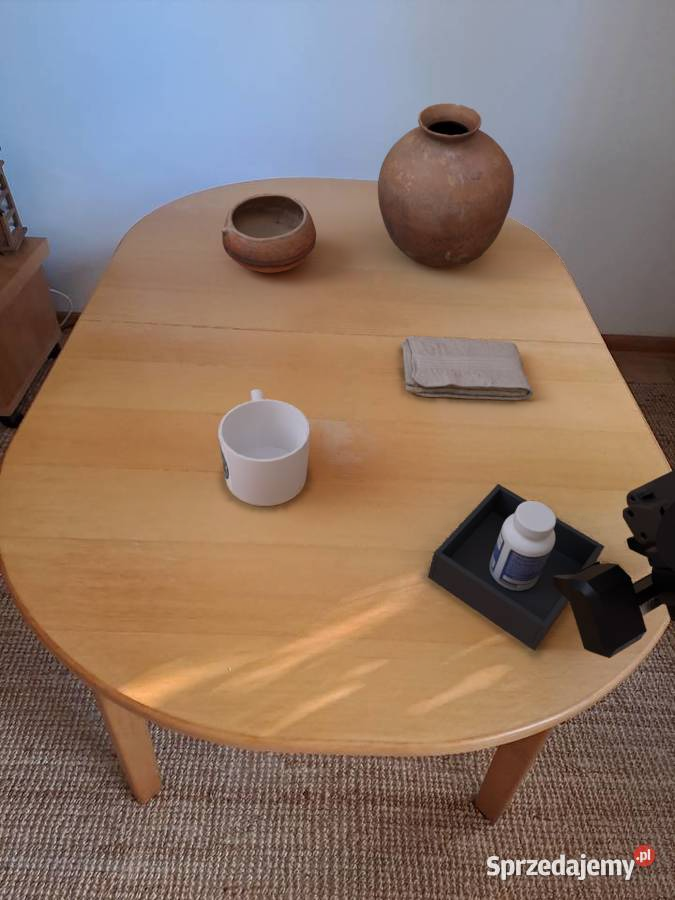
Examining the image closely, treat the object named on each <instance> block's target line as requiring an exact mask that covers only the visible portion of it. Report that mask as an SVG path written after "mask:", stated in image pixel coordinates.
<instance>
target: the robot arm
mask: <svg viewBox="0 0 675 900" xmlns="http://www.w3.org/2000/svg"><path fill="white" fill-rule="evenodd" d="M625 500H626V505H627V507H625V508H623V509H622V518H623V520H624V522H625V524H626V526H627V527H628V529H629V531H630V533H631V534H632V536H629V537H627V538H626V545H627V548H628V549H629V550H630V551H633V553H636V554H638V555H640V556H643V557H646V559H647V562H648V565H649V567H651V572H650V573H649V574H647V575H645V576H643V577H641V578H639V579H638V580H635V581H634V582H633V579H632V577H631V575H630V574H629V573H627V571H626V570H625V569H624V568H623V567H621V566H620V564H618V563H612V562H604V563H601V562H600V560H597V561H596V562H595V563H593V564H592V565H590V566H588V567H586V568H584V569H582V570H580V571H578V572H577V573H575V575H556V576H554V577H553V580H554V583H555V586H556V588H557V589H558V590H559V591H560V592H561V593H562V594H563V595H564V597H565V598H566V599H567V600H568V601H569V604H570V607H571V611H572V614H573V618H574V620H575V624H576V627H577V630H578V634H579V637H580V640H581V644H582V647H583V650H585V651H587V652H589V653H591V654H594V655H598V656H601V657H604V658H607V659H611V658H612V657H615V656H616V655H617V654H619V653H620V652H622V651H624V650H625V649H627V648H629V647H631V646H632V645H634V644H636V643H637V642H638V641H640V640H641V639H642V638H643V637H644V635H645V634H646V633H647V632H648V630H647V627H646V623H645V620H644V617H643V616H646V615H647V614H649V613H650V612H652V611H654V610H655V609H657V608H659V607H661V606H663V605H665V607H666V611H667V613H668V616H669V620H670V622H674V623H675V469H673V470H671V471H669V472H667V473H664V474H662V475H660V476H658V477H657V478H654V479H652V480H650V481H649V482H646V483H644V484H642V485H639V486H638V487H636V488H634V489H631V490H630V491H628V493H627V494H626V498H625Z"/></svg>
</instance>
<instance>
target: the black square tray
mask: <svg viewBox="0 0 675 900" xmlns="http://www.w3.org/2000/svg"><path fill="white" fill-rule="evenodd" d="M526 501H528V500H527V499H525V498H524V497H522V496H520V495H518V494H516V493H515V492H514V491H512V490H509V488H507V487H505V486H502V485H501V484H500V483H497V484H496V485H495V486H494V488H492V490H490V492H489V493H488V494H487V495H486V496H485V497H484V498H483V499H482V500H481V501H480V503H479V504H478V505H477V506H475V508H474V509H473V510H472V511H471V512H470V513H469V514H468V516H466V518H464V520H463V521H461V523H460V524H459V525H458V526H457V527H456V528H455V530H453V532H451V534H450V535H448V537H447V538H446V539H445V540H444V541H443V542H442V544H441V545H440V546H439V547H437V549H436V550H435V551H433V554H432V559H431V562H430V567H429V569H428V574H427V578H428V579H429V580H431V581H433V582H434V583H436V585H438V586H440V587H441V588H443V589H444V590H446V591H447V592H449V593H450V594H451V595H453V596H454V597H456V598H457V599H458V600H460V601H461V602H463V603H465V604H466V605H467V606H469V607H470V608H472V609H473V610H474V611H476V612H477V613H479V614H480V615H482V616H483V617H485V618H486V619H488V620H489V621H490V622H492V623H494V624H495V626H498V627H499V628H501V629H502V630H504V631H505V632H506V633H508V634H509V635H511V636H512V637H514V639H516V640H517V641H519V642H520V643H522V644H524V645H525V646H526V647H528V648H530V649H531V650H533V651H534V652H535V651H537V649H538V648H539V646H540V645H541V644H542V642H543V641H544V639H545V638H546V636H547V634H549V632H550V630H551V629H552V627H554V625H555V623H556V622H557V620H558V619H559V618H560V617H561V615H562V613H563V612H564V611H565V609H566V608H567V606H568V604H570V602H569V601H568V600H567V599H566V598H565V597H564V595H563V594H562V593H561V592H560V591H559V590H558V589H557V588H556V586H555V583H554V580H553V577H554V576H556V575H575V573H577V572H578V571H580V570H582V569H584V568H586V567H588V566H590V565H592V564H593V563H595V562H597V561H598V559H599V558H600V556H601V554H602V552H603V550H604V548H605V545H604V544H602V543H601V542H598V541H597V540H596V539H593V538H592V537H590V536H589V535H587V534H585V533H583V532H581V531H580V530H579V529H577V528H574V527H573V526H571V525H570V524H568V523H566V522H565V521H562V519H559V518H558V517H556V523H555V526H554V529H553V530H554V532H555V543H554V546H553V548H552V550H551V552H550V554H549V557H548V559H547V561H546V563H545V565H544V567H543V570H542V572H541V574H540V576H539V578H538V580H537V582H536V583H535V585H534V586H532V587H531V588H529V589H527V590H523V591H514V590H510V589H507V588H505V587H503V586H501V585H500V584H499V583H498V582H497V581H496V580H495V579H494V578H493V576H492V574H491V572H490V560H491V557H492V554H493V551H494V549H495V546H496V543H497V540H498V537H499V535H500V532H501V529H502V526H503V524H504V522H505V520H506V519H507V518H508V517H509V516H510V515H512V514H514V513H515V511H516V509H517V507H518V506H519V505H520V504H521V503H523V502H526Z"/></svg>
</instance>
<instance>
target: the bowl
mask: <svg viewBox="0 0 675 900" xmlns="http://www.w3.org/2000/svg"><path fill="white" fill-rule="evenodd" d="M224 221H225V222H224V225H223V227H222V228H221V239H222V241H221V243H222V246H223V249H224V251H225V253H226V254H227V255H228V256H229V258H231V259H232V260H233V262H235V263H236V264H238V265H239V266H240V267H243V268H246V269H248V270H250V271H255V272H261V273H280V272H285V271H288V270H290V269H292V268H293V269H294V268H295V267H296V266H298V265H300V264H301V263H303V262H304V261H305V260H306V258H307V257H308V255H309V254H310V253H312V251H313V250H314V248H315V246H316V245H317V244H316V243H317V229H316V225H315V223H314V219H313V217H312V215H311V213H310V211H309V209H308V208H307V206H306V205H305V204H304V203H303V202H301V200H299V199H297V198H296V197H294V196H291V195H290V194H284V193H276V192H267V193H265V192H264V193H260V194H253V195H251V196H248V197H245V198H243V199H242V200H240V201H238V202H237V203H236V204H234V205H233V206H232V207H231V208H230V209H229V211H228V213H227V215H226V218H225V220H224Z"/></svg>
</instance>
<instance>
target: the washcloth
mask: <svg viewBox="0 0 675 900" xmlns="http://www.w3.org/2000/svg"><path fill="white" fill-rule="evenodd" d="M400 346H401V348H402V351H403V354H402V364H403V369H404V371H403V372H404V383H405V390H406V392H410V393H413V394H414V395H417V396H420V397H426V398H449V397H450V398H456V399H468V400H469V399H470V400H471V399H472V400H473V399H474V400H501V401H521V400H527V399H529V398H531V397H532V396H533V393H534V392H533V388H532V386H531V383H530V381H529V379H528V377H527V375H526V373H525V372H524V369H523V360H522V358H521V354H520V352H519V347H518V345H516V343H514V342H511V341H503V340H502V341H501V340H487V339H485V340H484V339H474V338H473V339H471V338H459V337H436V336H435V337H434V336H432V337H431V336H423V335H418V336H416V335H410V336H406V338H405V339H404V340H402V342H401V343H400Z"/></svg>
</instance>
